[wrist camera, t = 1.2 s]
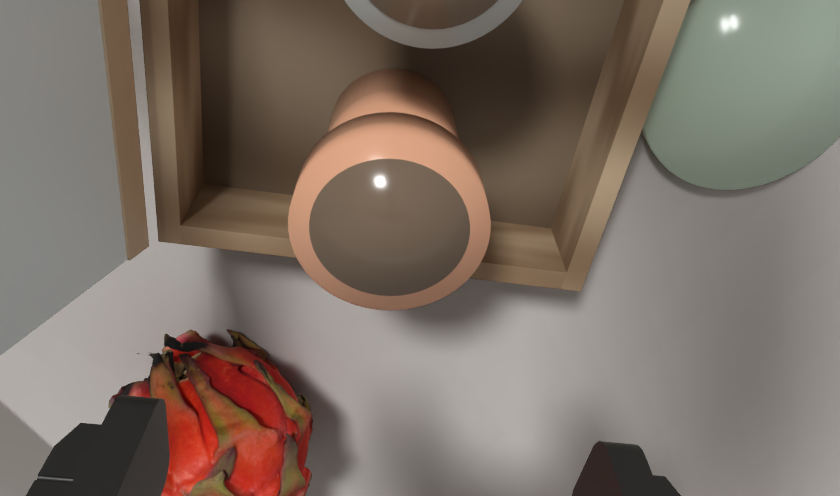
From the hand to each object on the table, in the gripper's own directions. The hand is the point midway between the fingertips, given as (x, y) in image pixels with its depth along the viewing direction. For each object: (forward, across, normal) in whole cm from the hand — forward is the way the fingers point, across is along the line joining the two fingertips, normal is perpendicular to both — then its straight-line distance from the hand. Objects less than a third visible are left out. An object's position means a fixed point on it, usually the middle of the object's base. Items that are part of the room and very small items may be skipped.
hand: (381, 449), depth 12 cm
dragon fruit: (+16, +6, +14) cm, 22 cm away
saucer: (+15, -13, -4) cm, 20 cm away
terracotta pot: (+15, 0, 0) cm, 15 cm away
